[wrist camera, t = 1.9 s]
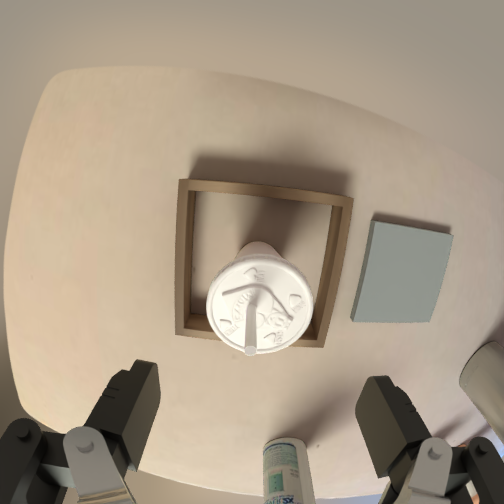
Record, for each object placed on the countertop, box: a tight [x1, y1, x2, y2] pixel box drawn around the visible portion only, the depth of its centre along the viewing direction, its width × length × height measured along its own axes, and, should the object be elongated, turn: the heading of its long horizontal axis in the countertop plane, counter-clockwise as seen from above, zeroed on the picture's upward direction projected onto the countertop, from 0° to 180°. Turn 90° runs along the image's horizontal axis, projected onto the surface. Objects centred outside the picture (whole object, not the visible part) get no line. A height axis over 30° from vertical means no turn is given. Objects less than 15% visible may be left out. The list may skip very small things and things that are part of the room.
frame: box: [175, 179, 354, 348], centre depth 24 cm, size 14×14×3 cm
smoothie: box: [206, 241, 313, 356], centre depth 19 cm, size 6×6×14 cm
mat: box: [350, 220, 453, 323], centre depth 25 cm, size 10×10×1 cm
